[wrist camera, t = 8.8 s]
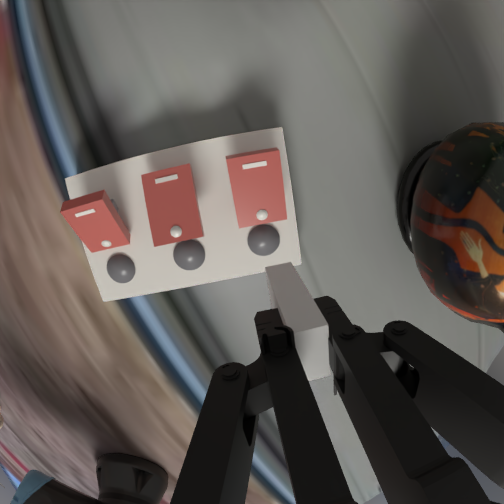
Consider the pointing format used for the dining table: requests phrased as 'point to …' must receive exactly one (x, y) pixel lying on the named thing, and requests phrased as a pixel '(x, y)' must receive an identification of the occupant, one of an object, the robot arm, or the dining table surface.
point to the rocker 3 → (257, 186)
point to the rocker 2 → (172, 205)
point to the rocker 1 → (96, 221)
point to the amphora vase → (459, 220)
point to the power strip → (212, 215)
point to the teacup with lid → (1, 419)
